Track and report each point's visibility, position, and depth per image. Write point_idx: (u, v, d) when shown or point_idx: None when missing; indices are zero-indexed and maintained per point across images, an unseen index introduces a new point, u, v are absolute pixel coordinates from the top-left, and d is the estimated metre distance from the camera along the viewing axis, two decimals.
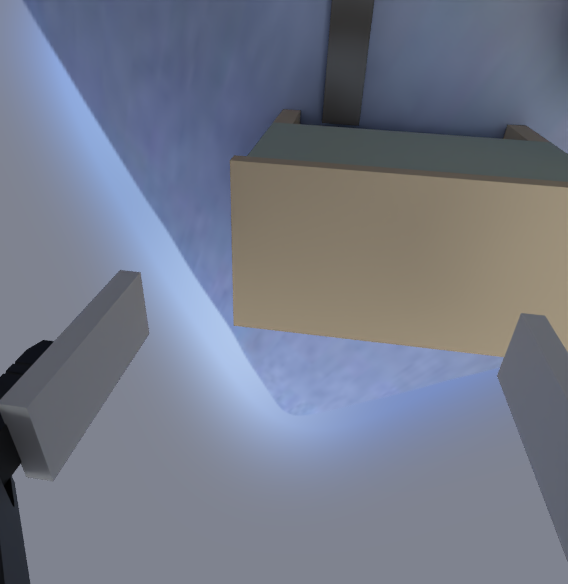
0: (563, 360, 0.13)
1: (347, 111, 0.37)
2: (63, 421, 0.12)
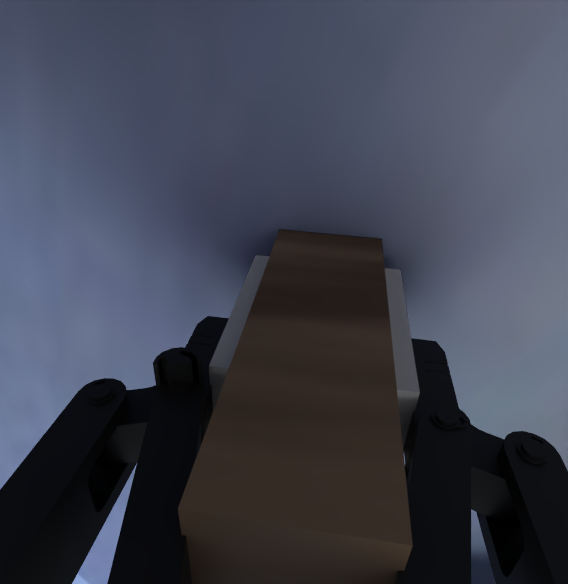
0: (397, 301, 0.15)
1: None
2: None
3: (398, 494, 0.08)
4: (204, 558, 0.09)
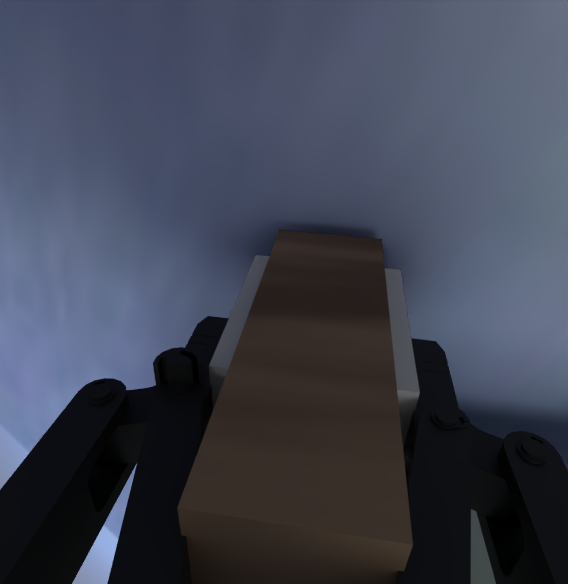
0: (397, 301, 0.15)
1: None
2: None
3: (398, 493, 0.08)
4: (203, 558, 0.09)
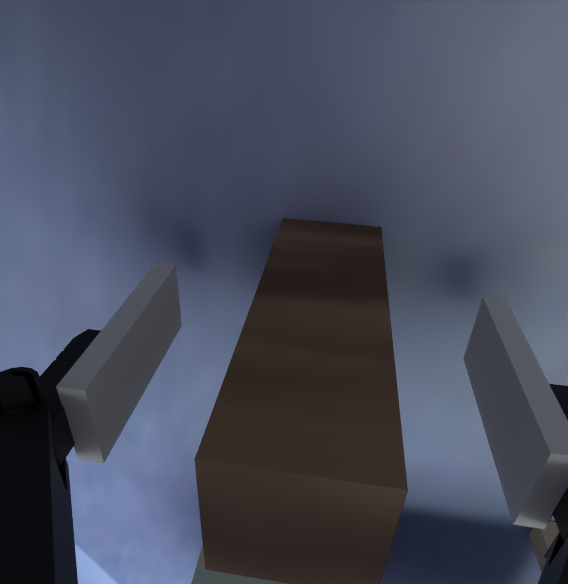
0: (517, 339, 0.14)
1: None
2: (113, 405, 0.13)
3: (395, 448, 0.09)
4: (217, 508, 0.09)
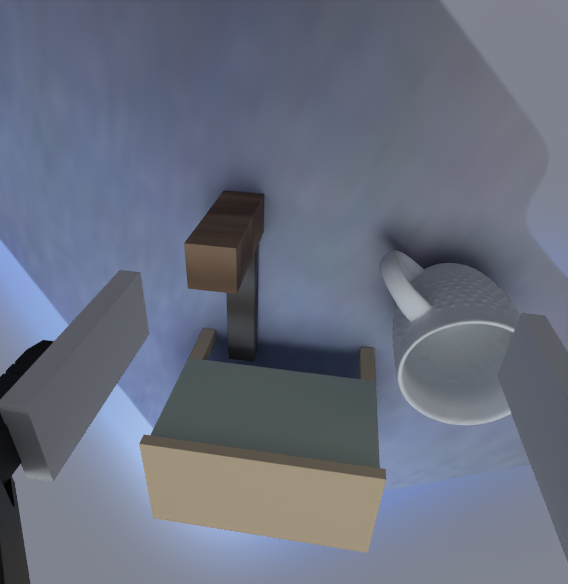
0: (563, 360, 0.13)
1: (245, 353, 0.52)
2: (63, 421, 0.12)
3: (236, 243, 0.35)
4: (190, 261, 0.35)
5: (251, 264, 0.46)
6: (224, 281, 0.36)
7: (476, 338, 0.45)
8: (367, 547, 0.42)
